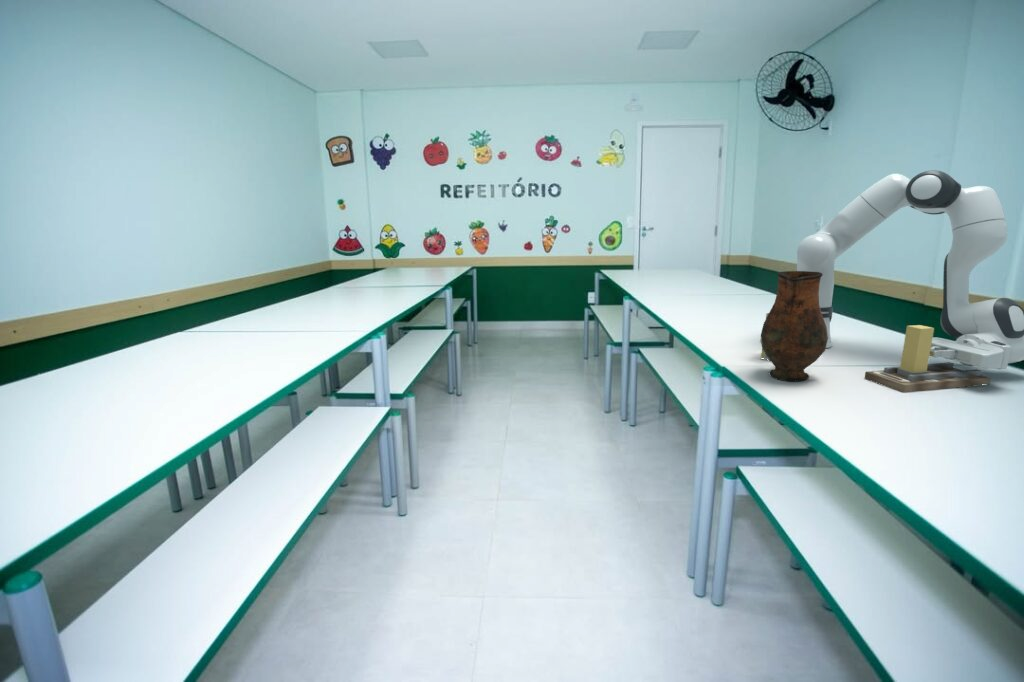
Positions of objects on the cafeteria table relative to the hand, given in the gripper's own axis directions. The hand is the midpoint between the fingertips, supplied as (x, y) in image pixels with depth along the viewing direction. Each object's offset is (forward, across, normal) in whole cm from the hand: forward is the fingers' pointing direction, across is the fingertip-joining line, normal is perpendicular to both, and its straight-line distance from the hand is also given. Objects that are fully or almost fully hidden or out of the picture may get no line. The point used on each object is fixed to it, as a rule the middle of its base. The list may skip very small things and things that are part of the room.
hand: (930, 353), depth 134 cm
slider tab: (+4, 0, +6) cm, 7 cm away
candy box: (+24, -31, +8) cm, 40 cm away
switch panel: (0, 0, +8) cm, 8 cm away
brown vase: (+30, -14, +8) cm, 34 cm away
